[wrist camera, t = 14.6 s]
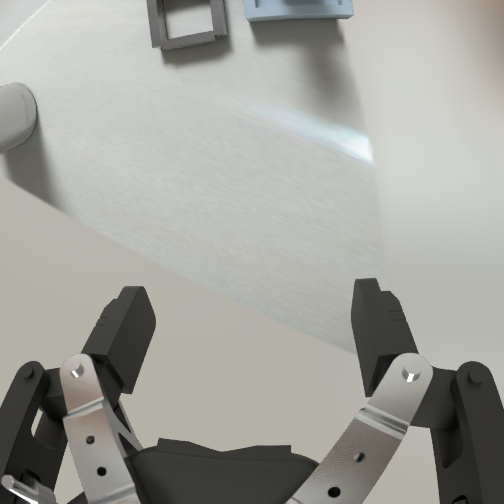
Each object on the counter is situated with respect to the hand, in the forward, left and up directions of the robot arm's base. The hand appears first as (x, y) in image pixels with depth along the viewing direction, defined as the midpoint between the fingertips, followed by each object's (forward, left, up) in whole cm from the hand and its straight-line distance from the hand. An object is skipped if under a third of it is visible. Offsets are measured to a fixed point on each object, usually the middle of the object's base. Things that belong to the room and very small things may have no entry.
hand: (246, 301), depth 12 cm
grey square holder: (-7, +15, -25) cm, 30 cm away
